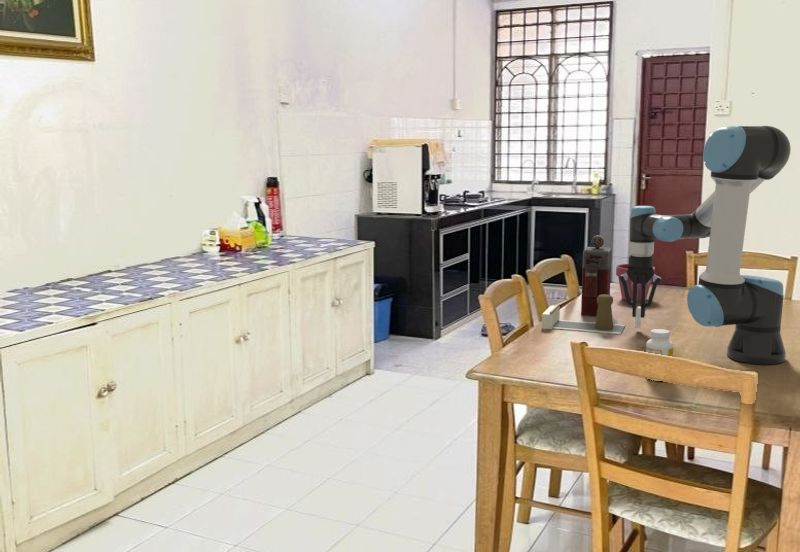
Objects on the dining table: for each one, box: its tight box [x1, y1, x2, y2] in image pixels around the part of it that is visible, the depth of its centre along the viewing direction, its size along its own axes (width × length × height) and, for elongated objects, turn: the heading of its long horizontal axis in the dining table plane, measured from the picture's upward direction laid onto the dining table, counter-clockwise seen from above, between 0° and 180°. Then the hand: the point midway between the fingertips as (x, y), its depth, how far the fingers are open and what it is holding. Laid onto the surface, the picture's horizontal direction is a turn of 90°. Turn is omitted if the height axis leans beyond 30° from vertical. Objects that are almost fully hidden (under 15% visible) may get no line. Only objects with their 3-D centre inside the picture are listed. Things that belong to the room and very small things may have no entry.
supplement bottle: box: [645, 328, 674, 382], centre depth 205 cm, size 7×7×13 cm
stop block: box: [541, 303, 561, 330], centre depth 265 cm, size 14×3×6 cm, turn 158°
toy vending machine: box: [580, 234, 612, 318], centre depth 277 cm, size 9×11×28 cm
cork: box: [594, 294, 614, 330], centre depth 258 cm, size 6×6×11 cm
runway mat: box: [551, 319, 626, 335], centre depth 261 cm, size 12×22×1 cm, turn 68°
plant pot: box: [615, 263, 656, 302], centre depth 304 cm, size 14×14×13 cm
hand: (638, 326), depth 255 cm, fingers closed
